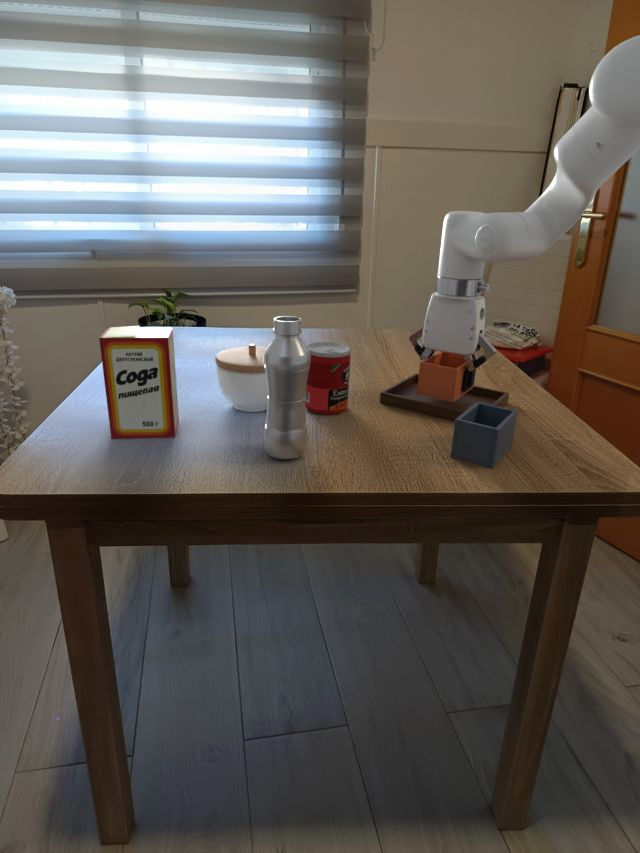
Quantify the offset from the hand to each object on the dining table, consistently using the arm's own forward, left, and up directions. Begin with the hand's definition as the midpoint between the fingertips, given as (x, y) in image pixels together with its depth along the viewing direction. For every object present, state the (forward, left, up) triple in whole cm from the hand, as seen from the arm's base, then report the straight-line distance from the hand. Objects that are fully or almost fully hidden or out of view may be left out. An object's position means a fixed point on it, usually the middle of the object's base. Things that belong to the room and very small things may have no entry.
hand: (446, 384), depth 106 cm
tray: (0, 0, -3) cm, 3 cm away
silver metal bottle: (+10, +36, -4) cm, 38 cm away
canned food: (+16, +16, -4) cm, 23 cm away
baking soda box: (+33, +42, -4) cm, 53 cm away
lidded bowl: (+27, +23, -4) cm, 36 cm away
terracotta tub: (0, 0, -1) cm, 1 cm away
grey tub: (-13, +17, -4) cm, 22 cm away
